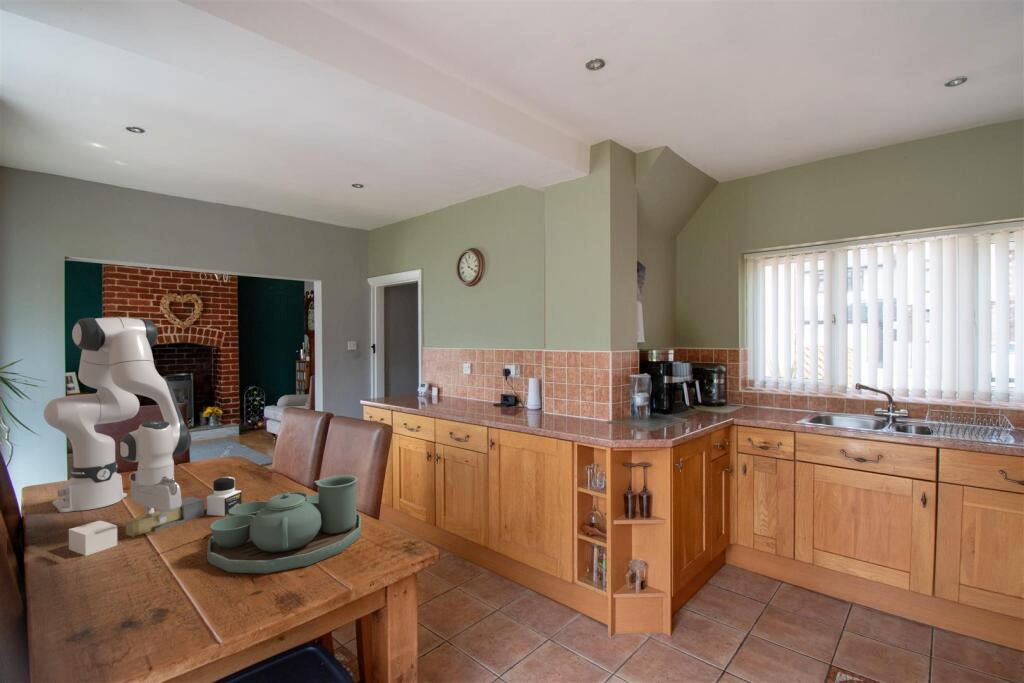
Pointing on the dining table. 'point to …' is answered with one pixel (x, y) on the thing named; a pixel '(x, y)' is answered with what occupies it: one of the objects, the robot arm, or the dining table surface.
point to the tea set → (287, 529)
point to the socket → (92, 537)
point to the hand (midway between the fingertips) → (156, 520)
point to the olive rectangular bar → (150, 522)
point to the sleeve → (187, 511)
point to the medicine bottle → (223, 497)
